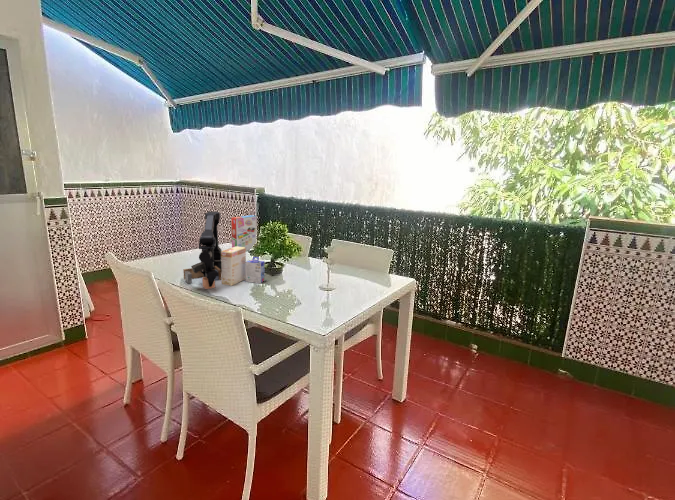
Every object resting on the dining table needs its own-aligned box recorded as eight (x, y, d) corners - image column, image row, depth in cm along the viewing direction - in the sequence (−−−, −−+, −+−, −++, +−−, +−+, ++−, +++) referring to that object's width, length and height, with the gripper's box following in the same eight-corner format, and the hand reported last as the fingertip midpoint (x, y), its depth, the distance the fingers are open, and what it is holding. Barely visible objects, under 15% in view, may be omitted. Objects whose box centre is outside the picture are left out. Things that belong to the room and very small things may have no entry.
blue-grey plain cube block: (215, 277, 226) (215, 269, 225) (218, 280, 221) (218, 272, 220) (207, 278, 223) (206, 270, 222) (210, 281, 218) (209, 273, 217)
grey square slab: (189, 280, 218) (188, 271, 216) (192, 283, 212) (191, 273, 211) (185, 280, 216) (184, 271, 215) (187, 283, 211) (187, 274, 210)
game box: (252, 248, 306) (252, 215, 300) (256, 249, 303) (256, 215, 297) (231, 252, 290) (231, 217, 284) (236, 253, 287) (235, 218, 281)
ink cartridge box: (264, 280, 223) (265, 257, 220) (261, 283, 218) (261, 259, 215) (249, 279, 225) (249, 255, 222) (245, 281, 220) (245, 257, 217)
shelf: (216, 275, 230) (215, 265, 229) (221, 279, 222) (221, 270, 220) (183, 279, 220) (183, 269, 218) (187, 284, 211) (187, 273, 210)
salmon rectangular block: (211, 284, 212) (211, 276, 211) (214, 287, 207) (214, 279, 206) (202, 285, 209) (202, 277, 208) (205, 289, 204) (205, 280, 203)
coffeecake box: (236, 277, 228) (235, 246, 223) (246, 279, 225) (246, 247, 221) (221, 284, 214) (220, 250, 210) (231, 286, 212) (231, 252, 207)
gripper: (188, 255, 208) (189, 282, 211) (196, 263, 193) (198, 292, 196) (208, 253, 214) (209, 279, 217) (218, 261, 199) (219, 289, 202)
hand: (208, 285), depth 208 cm, fingers closed on salmon rectangular block, 6 cm apart
